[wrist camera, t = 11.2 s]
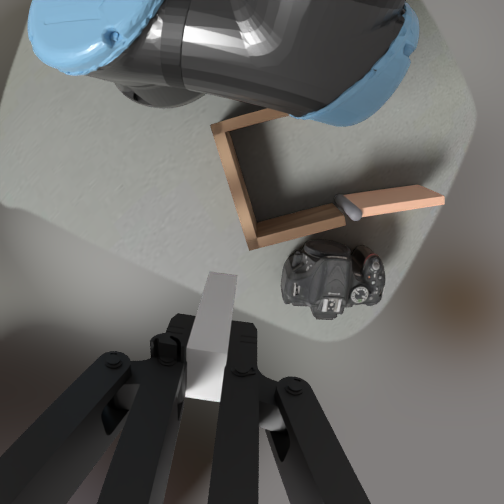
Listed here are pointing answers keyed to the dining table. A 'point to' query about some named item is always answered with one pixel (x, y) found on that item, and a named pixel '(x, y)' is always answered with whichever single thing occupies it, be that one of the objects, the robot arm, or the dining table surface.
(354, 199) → the hatch
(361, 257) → the camera
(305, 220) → the frame
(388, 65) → the robot arm
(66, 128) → the dining table surface
